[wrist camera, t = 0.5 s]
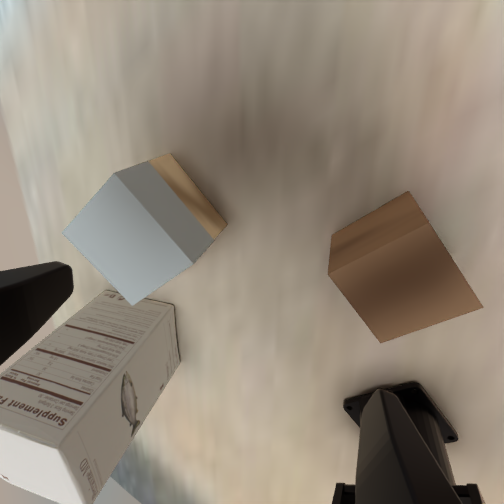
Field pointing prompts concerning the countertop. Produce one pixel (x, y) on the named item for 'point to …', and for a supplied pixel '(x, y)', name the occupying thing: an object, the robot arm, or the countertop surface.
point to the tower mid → (138, 232)
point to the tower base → (189, 194)
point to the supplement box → (84, 396)
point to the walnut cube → (398, 271)
